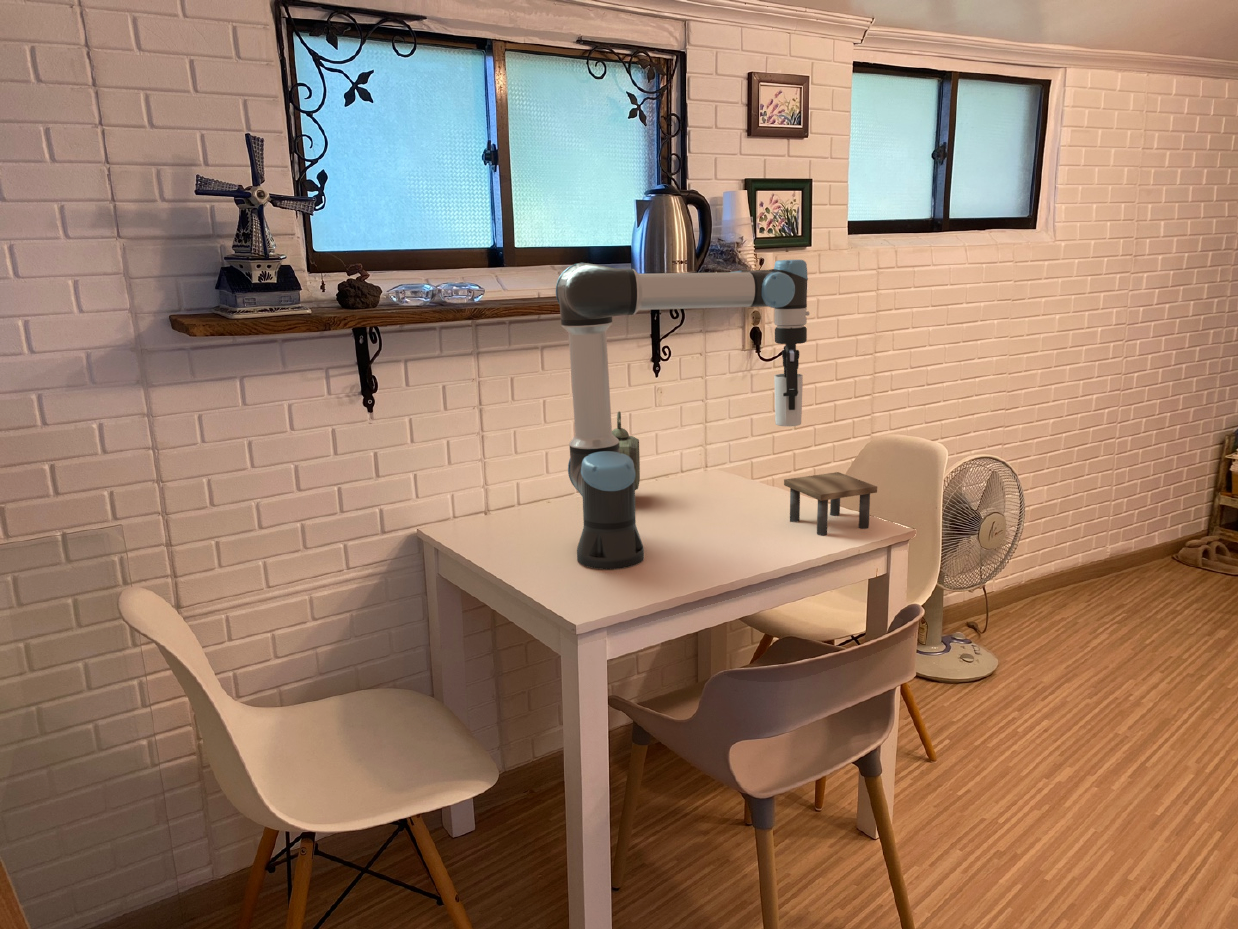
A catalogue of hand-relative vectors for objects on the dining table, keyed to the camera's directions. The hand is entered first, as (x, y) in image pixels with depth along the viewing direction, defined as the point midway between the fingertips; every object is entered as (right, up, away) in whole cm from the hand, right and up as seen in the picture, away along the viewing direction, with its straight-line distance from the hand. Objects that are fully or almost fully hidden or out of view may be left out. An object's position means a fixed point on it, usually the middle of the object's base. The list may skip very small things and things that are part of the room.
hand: (790, 418), depth 224 cm
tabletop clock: (-41, -22, +28) cm, 54 cm away
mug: (0, -2, 0) cm, 2 cm away
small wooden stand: (+10, -26, +4) cm, 28 cm away
